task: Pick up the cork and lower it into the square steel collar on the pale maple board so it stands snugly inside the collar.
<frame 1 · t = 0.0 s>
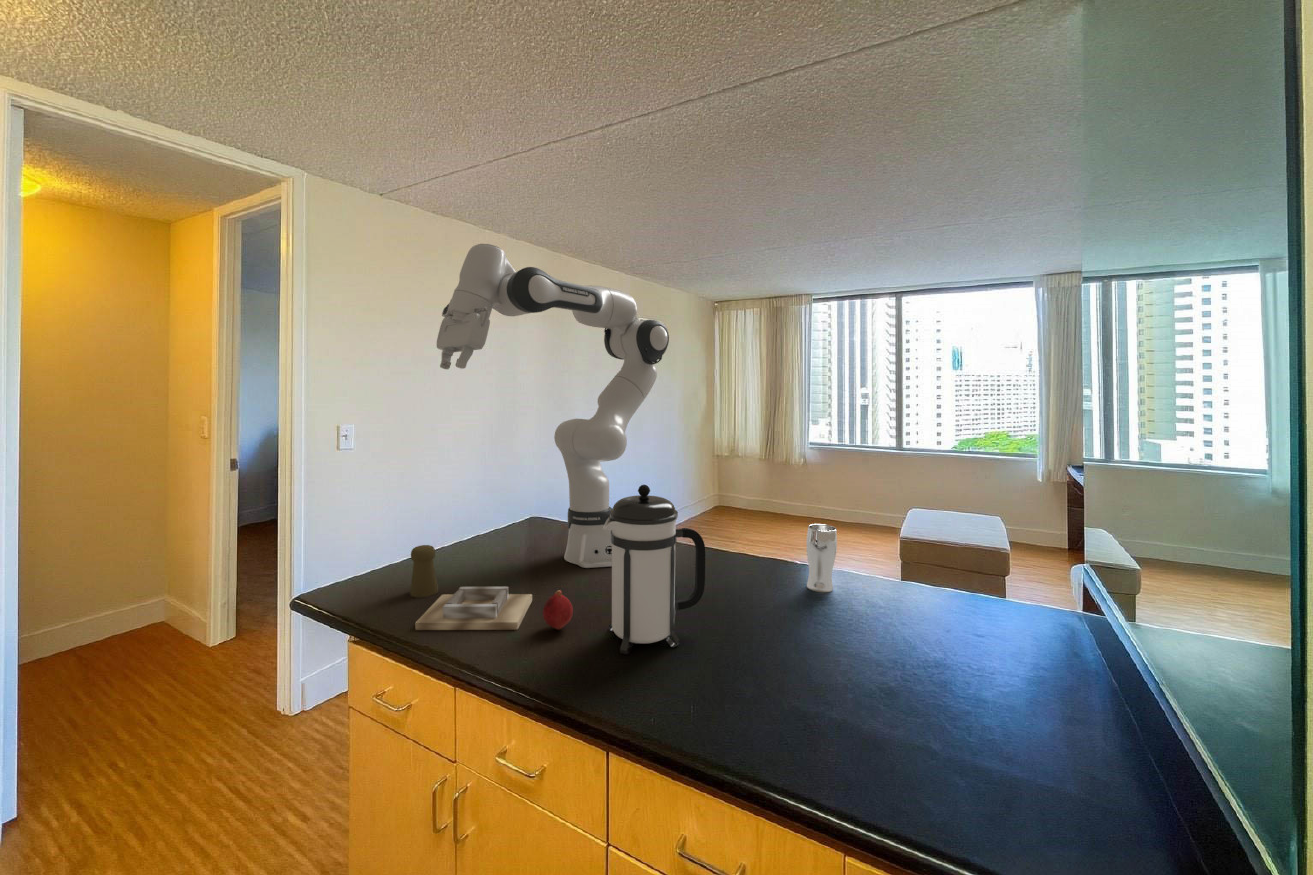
hand: (451, 368, 117), 52 cm above the worktop, tool tilted 20°, fingers open, 8 cm apart
coffee press: (648, 637, 101), on the worktop
collar board: (477, 614, 110), on the worktop
red rounded piece: (558, 630, 103), on the worktop
cork: (424, 593, 121), on the worktop
beer glass: (819, 588, 126), on the worktop
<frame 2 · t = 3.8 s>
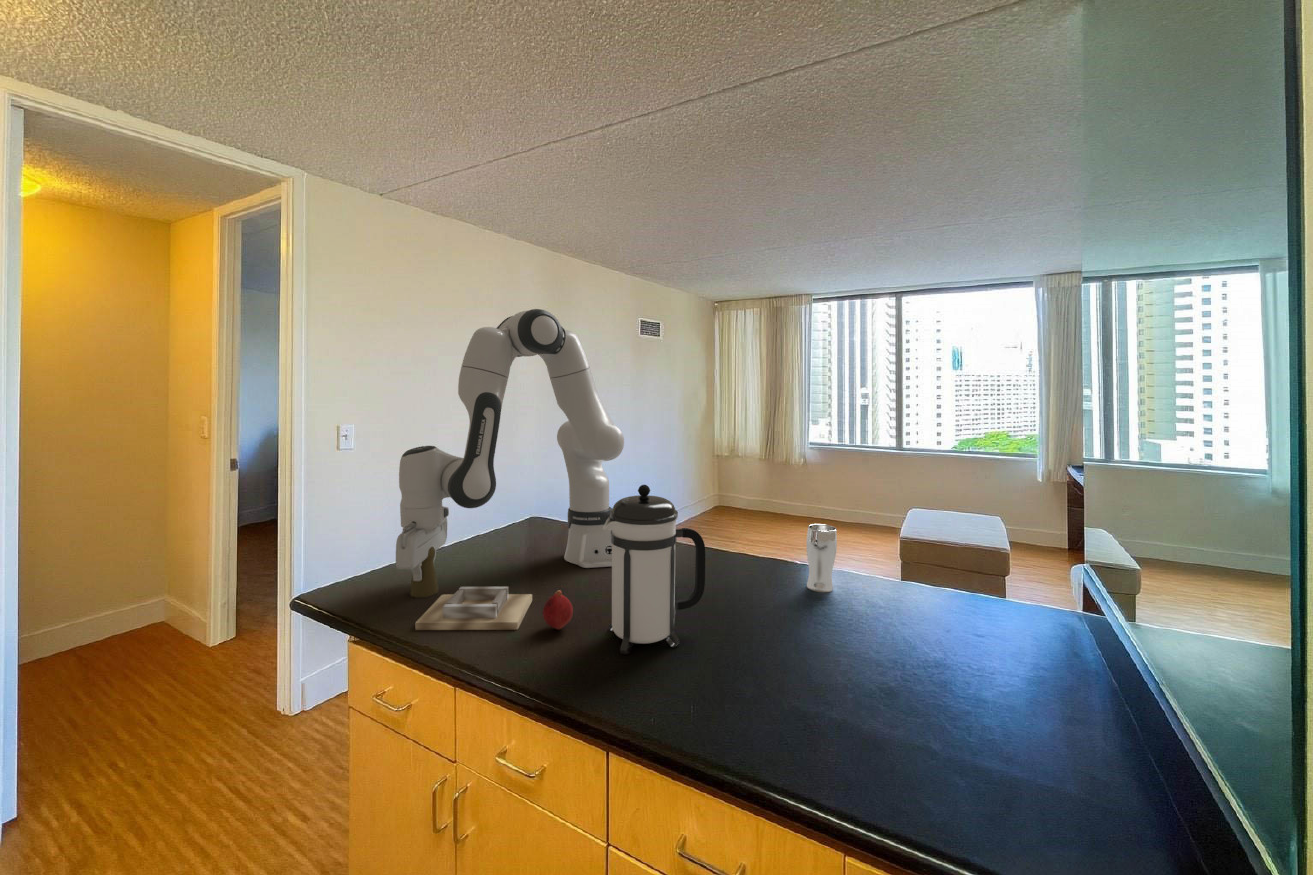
hand: (424, 575, 121), 4 cm above the worktop, tool pointing down, fingers closed on cork, 5 cm apart
cork: (424, 593, 121), on the worktop, touching gripper
everything else where it was.
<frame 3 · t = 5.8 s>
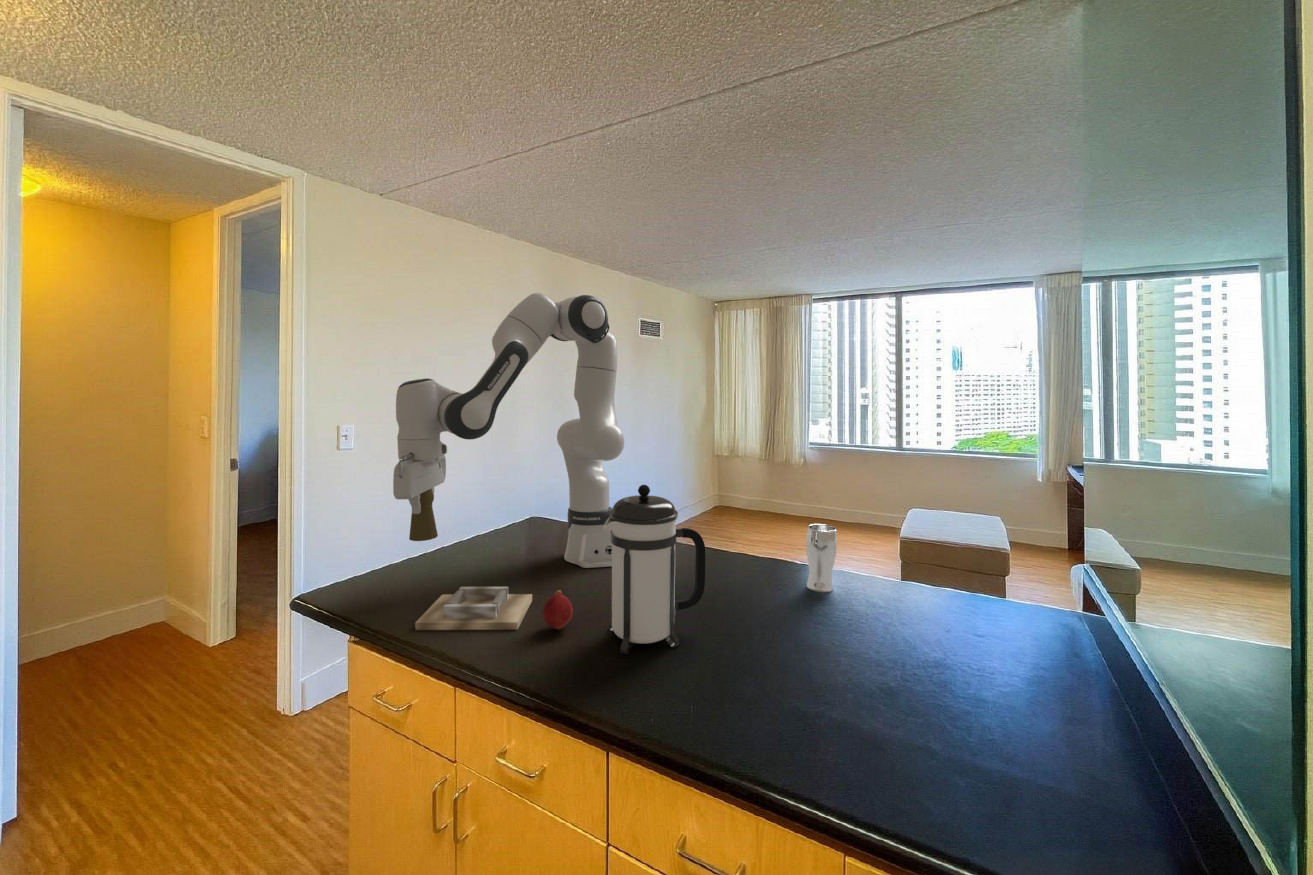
hand: (422, 510, 119), 19 cm above the worktop, tool pointing down, fingers closed on cork, 4 cm apart
cork: (423, 537, 120), point 13 cm above the worktop, touching gripper
everything else where it was.
when the fingers open (7 cm above the worktop, at t = 10.8 s): cork stays where it is, resting on collar board.
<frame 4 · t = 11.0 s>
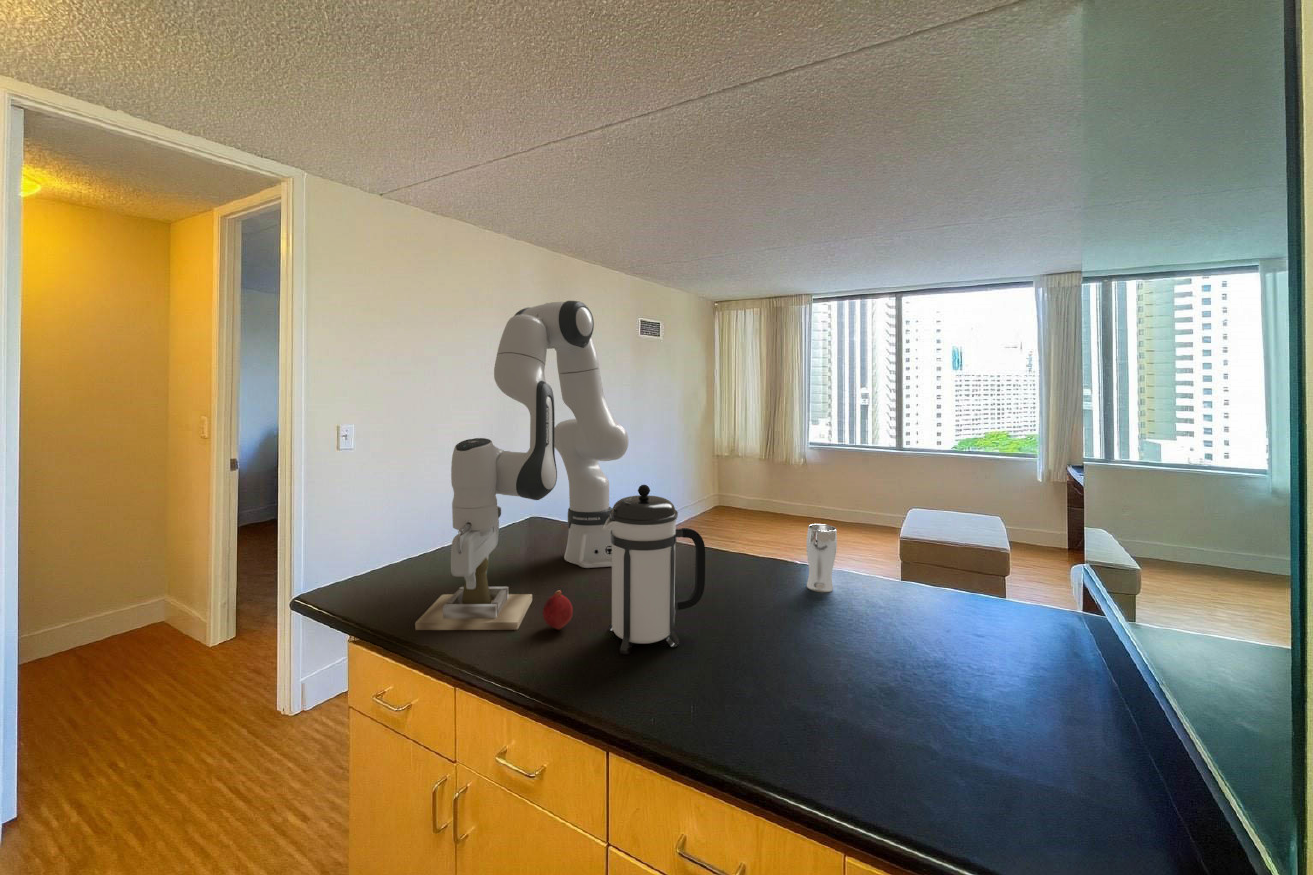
hand: (476, 581, 109), 7 cm above the worktop, tool pointing down, fingers open, 5 cm apart
cork: (476, 608, 109), point 1 cm above the worktop, touching collar board
everything else where it was.
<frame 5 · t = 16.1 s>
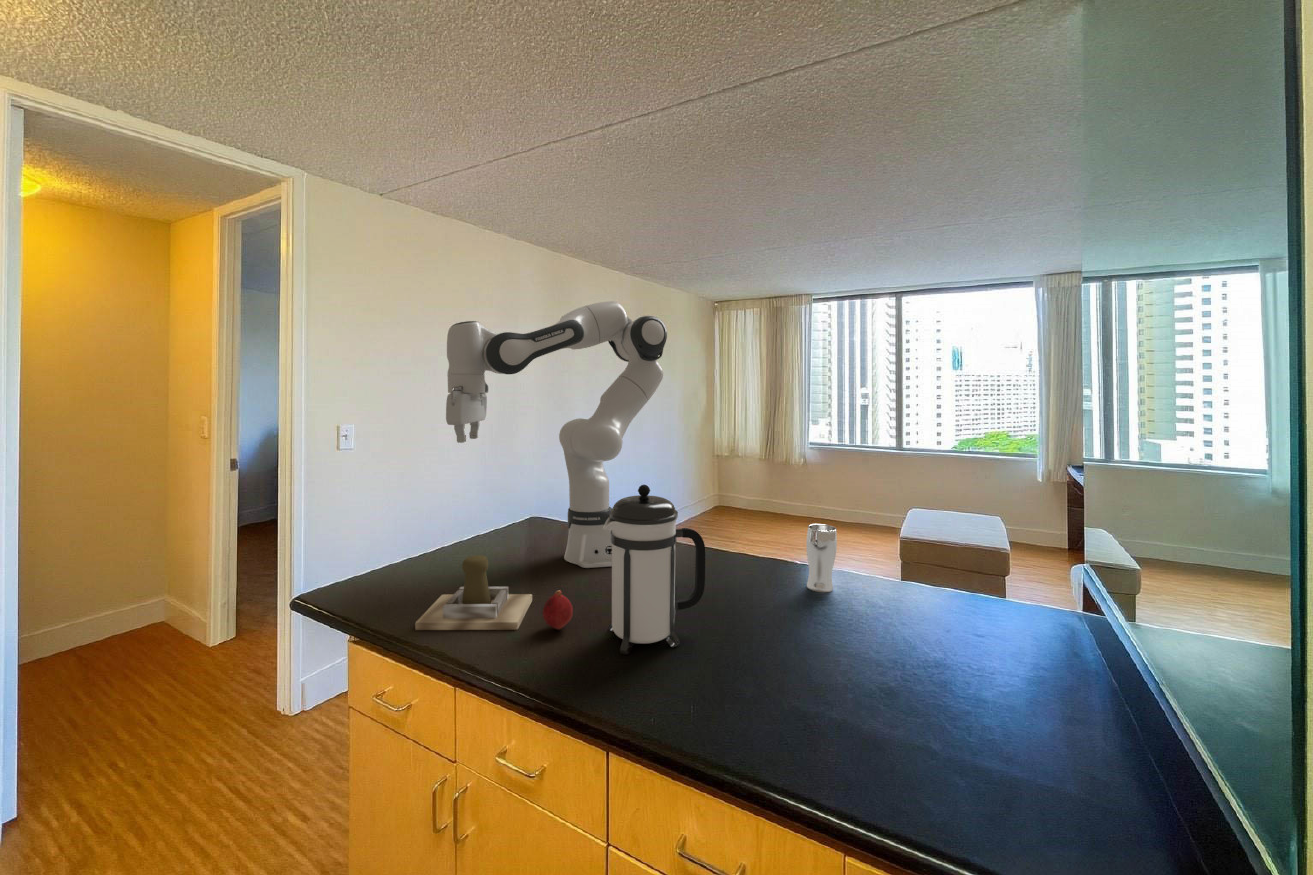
hand: (467, 440, 133), 34 cm above the worktop, tool pointing down, fingers open, 8 cm apart
nothing on the worktop moved.
at the end: cork 0.2 cm off-centre on the collar board, point 1.3 cm above the collar board's base; cork tilted 0°; the gripper is holding nothing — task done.
